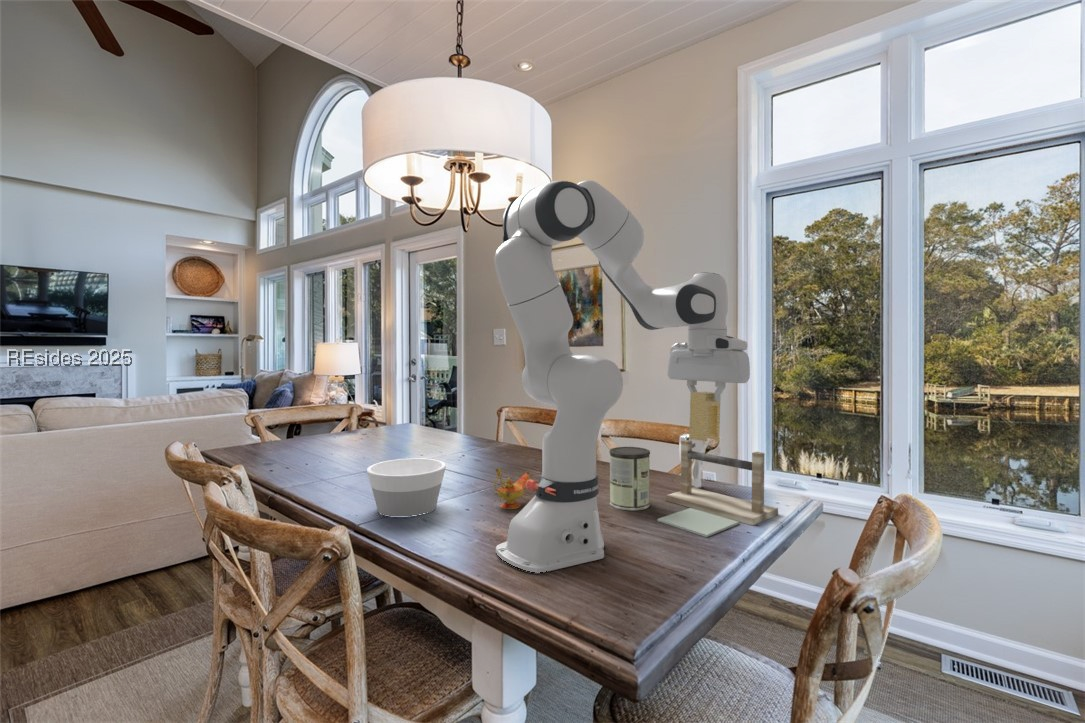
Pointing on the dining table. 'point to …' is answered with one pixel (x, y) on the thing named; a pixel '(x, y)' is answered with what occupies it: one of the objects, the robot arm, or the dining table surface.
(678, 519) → the mat
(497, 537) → the dining table surface
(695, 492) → the stand
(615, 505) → the coffee can
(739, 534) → the dining table surface
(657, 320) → the robot arm
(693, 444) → the beer glass
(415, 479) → the bowl
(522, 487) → the magic lamp
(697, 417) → the tan upright block
